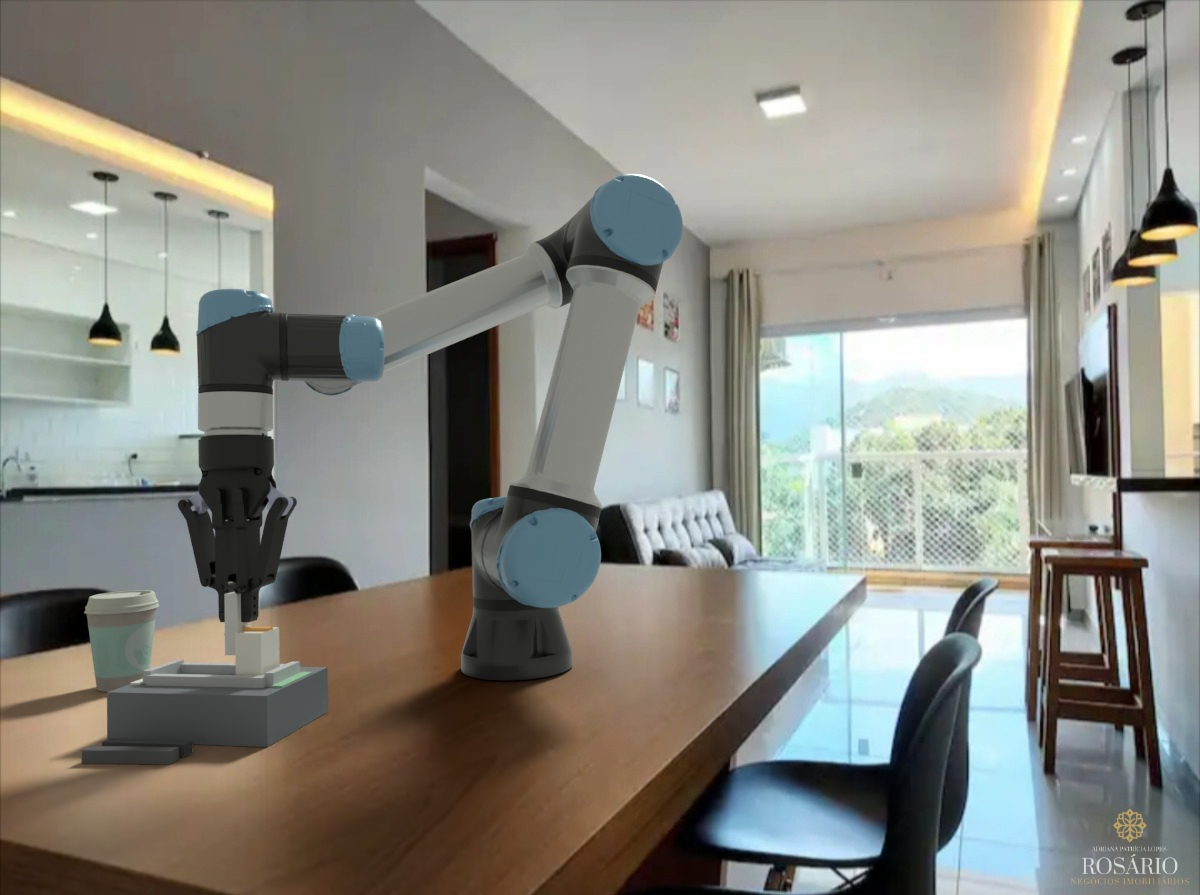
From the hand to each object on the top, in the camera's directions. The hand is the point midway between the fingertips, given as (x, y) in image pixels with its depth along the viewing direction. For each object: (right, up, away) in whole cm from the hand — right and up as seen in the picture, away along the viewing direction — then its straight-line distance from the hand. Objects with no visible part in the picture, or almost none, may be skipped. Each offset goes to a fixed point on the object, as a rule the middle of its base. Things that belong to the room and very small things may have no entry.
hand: (239, 652), depth 88 cm
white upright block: (+2, -3, 0) cm, 3 cm away
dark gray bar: (-6, -8, -11) cm, 14 cm away
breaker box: (-2, -8, 0) cm, 8 cm away
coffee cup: (-23, -9, +19) cm, 31 cm away
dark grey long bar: (-5, -8, -8) cm, 13 cm away
